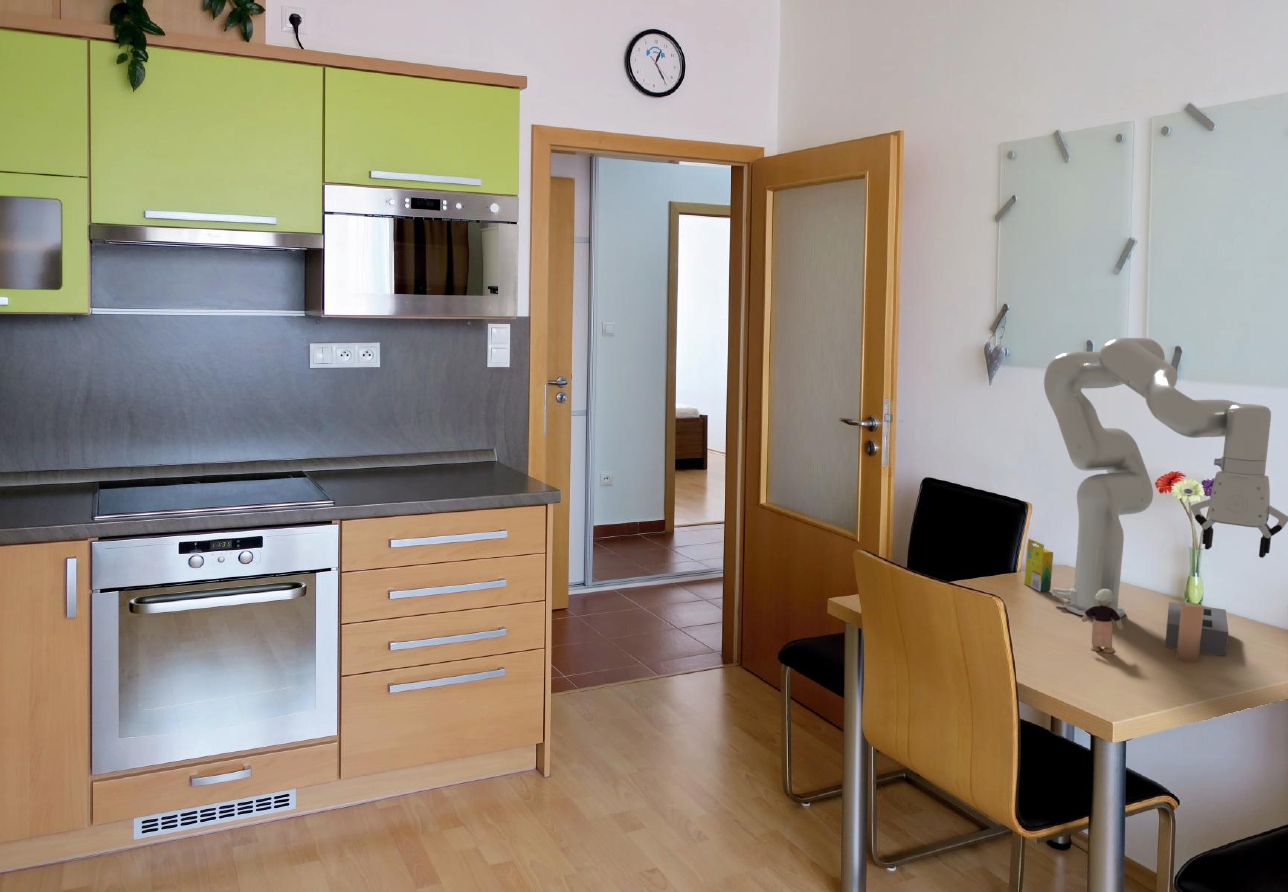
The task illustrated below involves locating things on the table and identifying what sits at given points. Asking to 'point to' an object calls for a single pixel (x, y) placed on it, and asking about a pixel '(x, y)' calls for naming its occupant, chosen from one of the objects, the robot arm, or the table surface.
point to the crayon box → (1038, 567)
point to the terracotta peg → (1189, 632)
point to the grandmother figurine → (1103, 621)
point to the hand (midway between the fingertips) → (1234, 552)
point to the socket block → (1212, 629)
